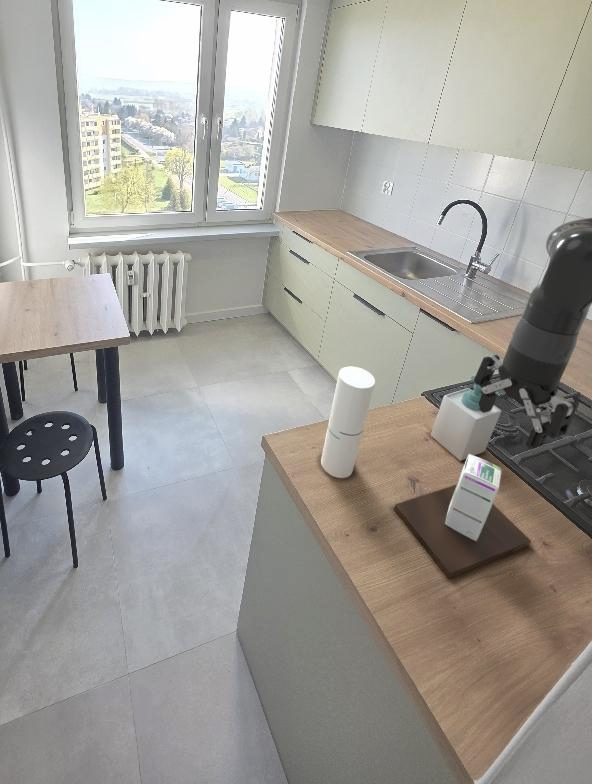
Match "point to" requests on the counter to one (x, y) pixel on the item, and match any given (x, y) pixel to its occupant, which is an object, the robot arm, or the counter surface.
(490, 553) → the board
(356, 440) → the cylindrical container
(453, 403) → the soap bottle
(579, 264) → the robot arm
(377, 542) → the counter surface
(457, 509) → the syrup box
